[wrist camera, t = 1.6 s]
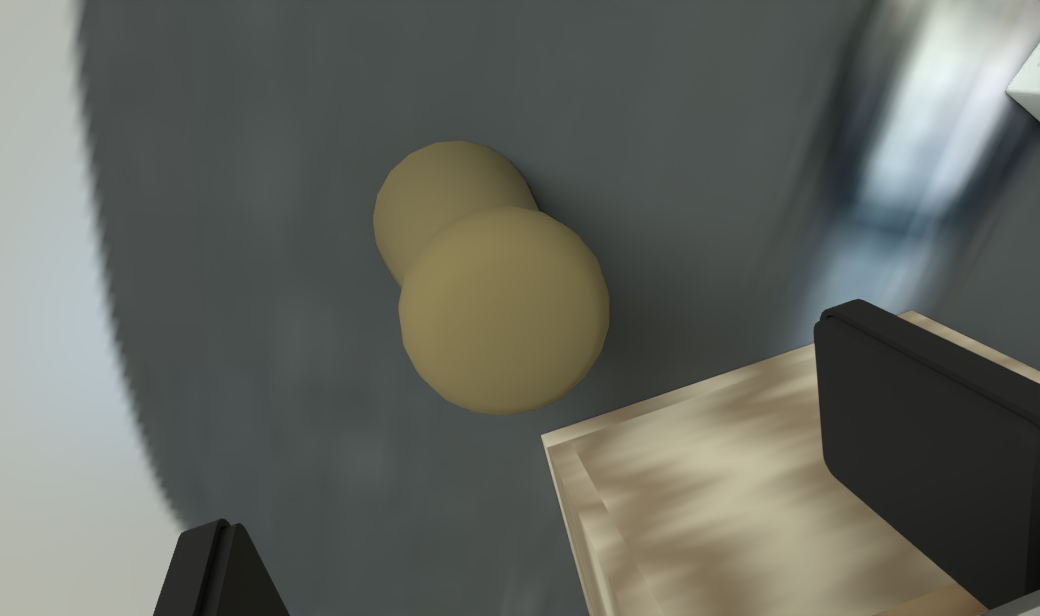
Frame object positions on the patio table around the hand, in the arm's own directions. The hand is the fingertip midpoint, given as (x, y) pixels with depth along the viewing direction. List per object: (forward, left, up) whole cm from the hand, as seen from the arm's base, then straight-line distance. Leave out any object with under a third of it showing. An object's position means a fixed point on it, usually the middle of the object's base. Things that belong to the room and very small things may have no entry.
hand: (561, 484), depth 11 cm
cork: (-1, 0, -16) cm, 16 cm away
